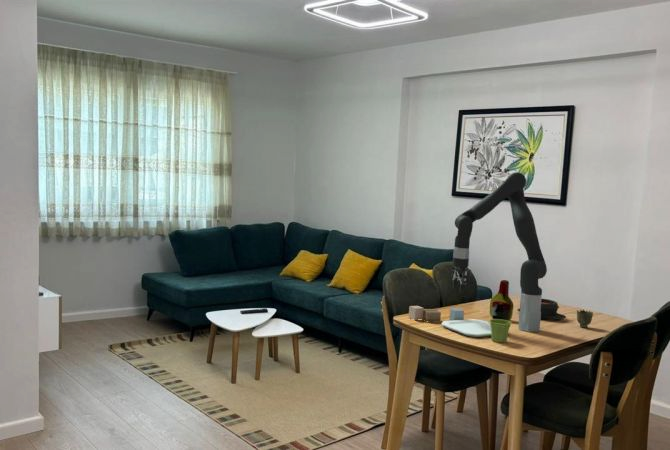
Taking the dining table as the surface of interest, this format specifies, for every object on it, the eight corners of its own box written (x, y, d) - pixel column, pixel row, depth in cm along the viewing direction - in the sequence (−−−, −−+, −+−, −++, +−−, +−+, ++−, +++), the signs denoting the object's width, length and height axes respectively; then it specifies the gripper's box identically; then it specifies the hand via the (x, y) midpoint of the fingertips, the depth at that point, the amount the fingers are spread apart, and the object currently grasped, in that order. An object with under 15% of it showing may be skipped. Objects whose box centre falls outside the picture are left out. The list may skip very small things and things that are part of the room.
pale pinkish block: (423, 320, 295) (423, 307, 294) (414, 320, 292) (415, 308, 292) (417, 317, 299) (417, 305, 298) (408, 318, 297) (409, 306, 296)
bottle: (514, 320, 303) (517, 281, 302) (508, 322, 299) (511, 282, 297) (493, 316, 312) (496, 277, 310) (486, 317, 307) (489, 278, 305)
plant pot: (484, 341, 261) (486, 321, 261) (491, 336, 269) (493, 317, 269) (506, 345, 256) (507, 325, 256) (512, 341, 264) (514, 321, 263)
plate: (436, 326, 285) (436, 321, 285) (477, 322, 296) (477, 318, 296) (471, 340, 263) (471, 335, 263) (513, 335, 274) (514, 331, 274)
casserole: (572, 319, 314) (573, 303, 314) (555, 324, 301) (557, 307, 301) (527, 310, 332) (528, 294, 331) (510, 314, 319) (511, 298, 318)
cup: (583, 325, 302) (585, 309, 301) (595, 329, 295) (596, 312, 295) (572, 325, 299) (573, 309, 299) (583, 329, 292) (584, 313, 292)
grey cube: (463, 323, 293) (464, 310, 292) (453, 323, 292) (454, 310, 291) (459, 320, 298) (459, 308, 297) (449, 320, 297) (450, 308, 296)
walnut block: (440, 322, 292) (440, 312, 291) (426, 322, 290) (427, 312, 290) (434, 319, 299) (435, 309, 298) (421, 319, 297) (422, 309, 297)
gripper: (474, 259, 286) (472, 293, 288) (462, 255, 300) (459, 287, 301) (459, 259, 285) (457, 293, 286) (448, 254, 298) (445, 287, 300)
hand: (458, 290), depth 294 cm, fingers open, 8 cm apart
